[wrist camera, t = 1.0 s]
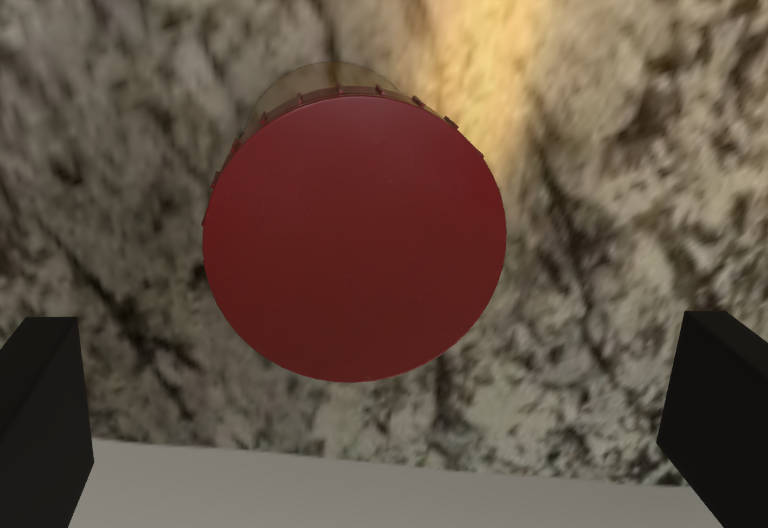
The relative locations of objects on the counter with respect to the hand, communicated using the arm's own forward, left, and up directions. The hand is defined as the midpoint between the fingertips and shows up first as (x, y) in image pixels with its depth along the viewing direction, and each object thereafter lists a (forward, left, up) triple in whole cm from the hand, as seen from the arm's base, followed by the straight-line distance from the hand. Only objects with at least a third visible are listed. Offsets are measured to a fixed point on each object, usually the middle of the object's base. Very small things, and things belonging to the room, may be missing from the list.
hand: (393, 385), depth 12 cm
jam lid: (0, 0, -7) cm, 7 cm away
